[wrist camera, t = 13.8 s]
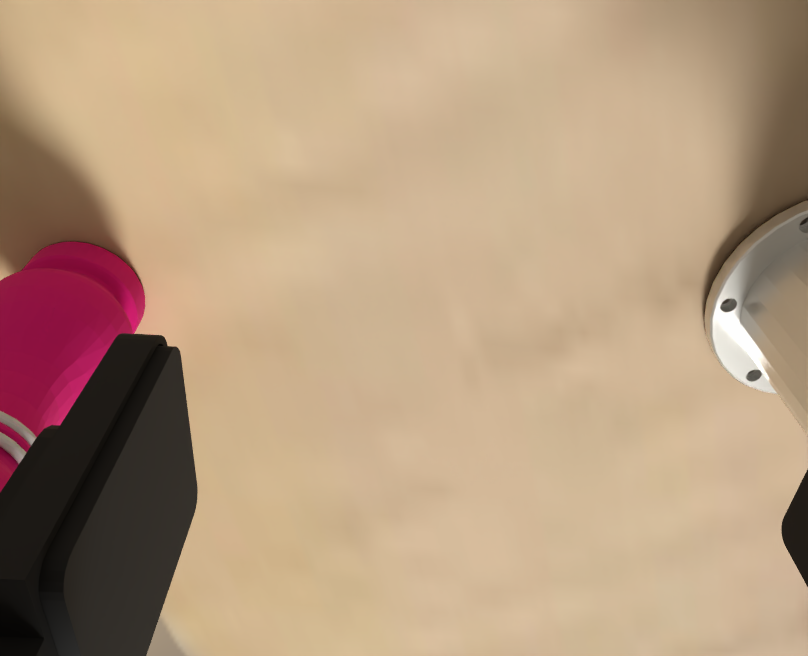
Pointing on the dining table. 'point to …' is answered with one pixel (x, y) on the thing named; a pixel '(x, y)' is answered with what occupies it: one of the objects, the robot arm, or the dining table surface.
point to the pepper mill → (57, 336)
